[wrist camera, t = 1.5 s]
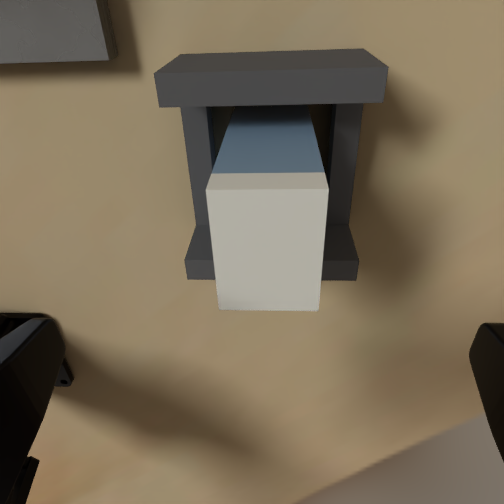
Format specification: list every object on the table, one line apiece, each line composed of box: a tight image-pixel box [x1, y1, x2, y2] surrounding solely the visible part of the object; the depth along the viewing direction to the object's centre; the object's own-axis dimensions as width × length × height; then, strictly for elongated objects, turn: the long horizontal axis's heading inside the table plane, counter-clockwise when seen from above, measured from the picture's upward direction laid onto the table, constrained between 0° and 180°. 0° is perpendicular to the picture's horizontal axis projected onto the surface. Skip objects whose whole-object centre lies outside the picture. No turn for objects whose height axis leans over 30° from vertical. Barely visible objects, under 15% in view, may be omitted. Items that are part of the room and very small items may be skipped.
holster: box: [154, 49, 388, 281], centre depth 15 cm, size 8×7×4 cm
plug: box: [206, 105, 329, 311], centre depth 14 cm, size 4×3×8 cm
